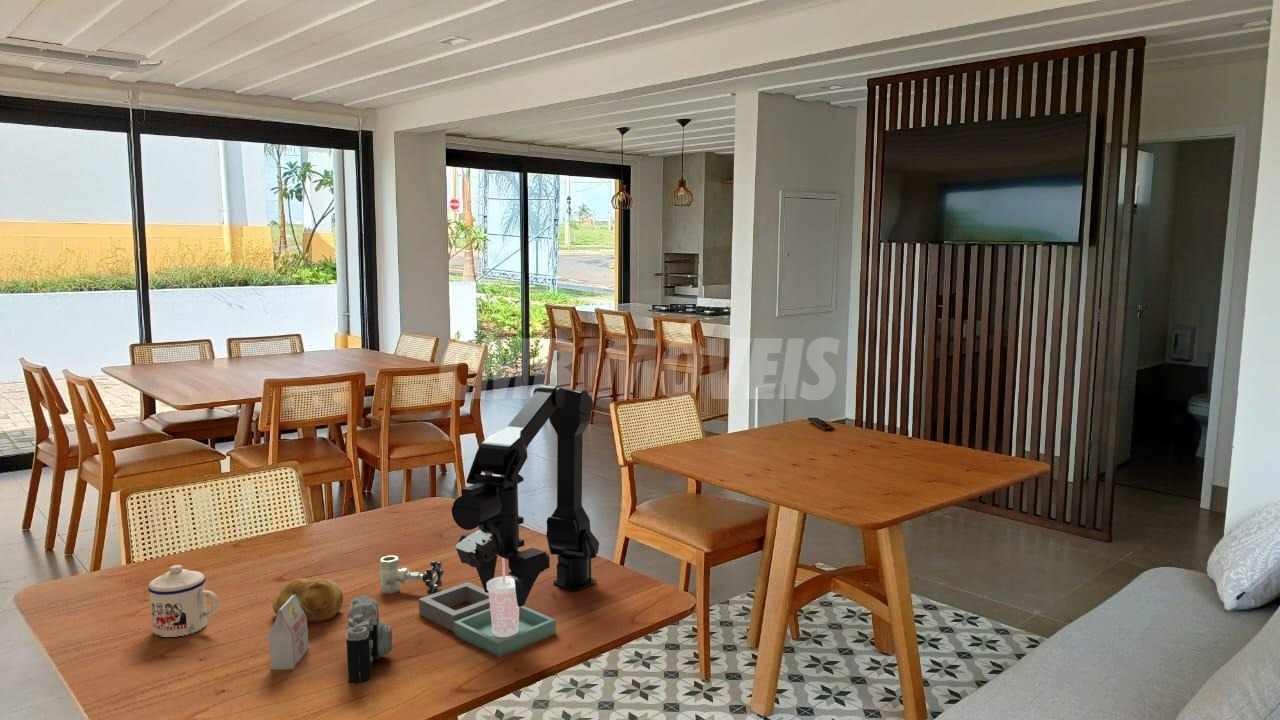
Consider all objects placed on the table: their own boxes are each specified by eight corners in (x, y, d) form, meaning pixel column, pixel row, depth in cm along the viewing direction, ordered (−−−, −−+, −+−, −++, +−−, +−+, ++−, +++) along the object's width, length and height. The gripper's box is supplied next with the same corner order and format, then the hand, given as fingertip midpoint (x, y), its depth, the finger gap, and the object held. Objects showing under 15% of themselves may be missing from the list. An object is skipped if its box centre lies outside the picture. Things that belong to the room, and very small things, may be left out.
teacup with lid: (140, 638, 155) (134, 574, 153) (174, 616, 164) (169, 556, 162) (203, 641, 153) (198, 577, 152) (234, 619, 162) (229, 558, 161)
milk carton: (271, 669, 143) (267, 610, 142) (286, 650, 150) (283, 594, 149) (293, 669, 143) (290, 610, 142) (308, 650, 150) (305, 593, 149)
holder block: (468, 596, 172) (467, 581, 172) (503, 612, 165) (503, 597, 164) (419, 614, 164) (418, 598, 164) (454, 631, 157) (453, 615, 156)
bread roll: (261, 622, 161) (259, 580, 160) (296, 601, 171) (293, 561, 170) (322, 630, 158) (320, 587, 157) (354, 608, 167) (352, 567, 166)
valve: (372, 596, 173) (430, 600, 171) (371, 563, 172) (429, 567, 170) (388, 583, 179) (444, 587, 177) (387, 552, 178) (443, 555, 176)
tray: (510, 613, 164) (510, 600, 164) (555, 633, 156) (555, 619, 155) (454, 635, 155) (453, 621, 155) (498, 657, 147) (498, 643, 146)
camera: (391, 680, 140) (388, 620, 138) (346, 686, 138) (342, 625, 136) (393, 640, 154) (390, 585, 152) (352, 644, 152) (349, 589, 151)
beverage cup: (481, 635, 154) (478, 558, 152) (499, 621, 159) (496, 547, 157) (511, 641, 151) (509, 563, 150) (529, 627, 157) (527, 551, 155)
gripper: (430, 512, 153) (434, 598, 155) (497, 536, 140) (500, 629, 142) (483, 498, 161) (485, 580, 163) (550, 519, 148) (552, 608, 150)
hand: (504, 598), depth 155 cm, fingers open, 9 cm apart
